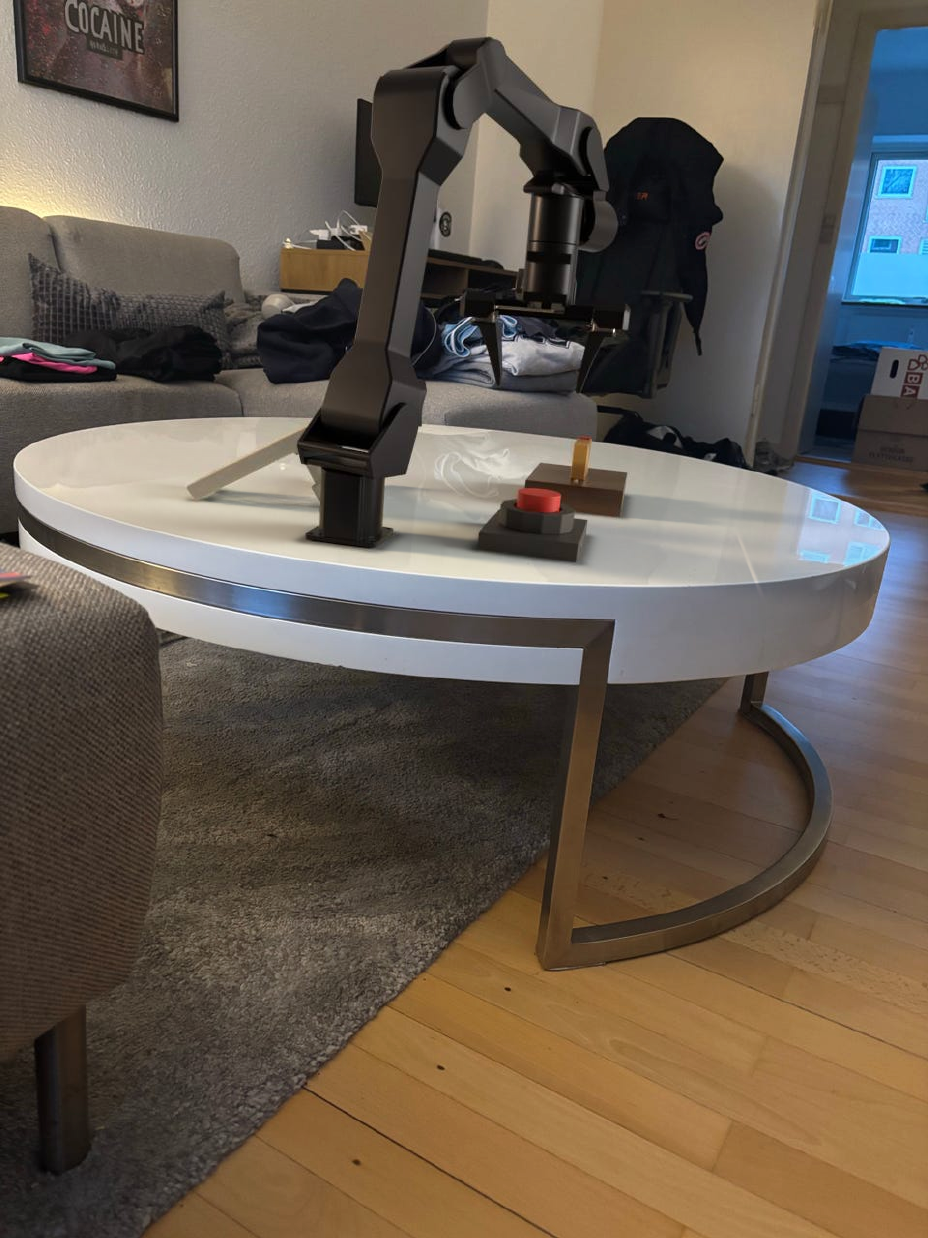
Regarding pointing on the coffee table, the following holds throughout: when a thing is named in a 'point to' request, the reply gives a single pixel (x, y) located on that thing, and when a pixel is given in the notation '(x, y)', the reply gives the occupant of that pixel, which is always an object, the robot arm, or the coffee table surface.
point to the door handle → (253, 466)
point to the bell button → (538, 500)
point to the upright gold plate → (581, 458)
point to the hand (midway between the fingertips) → (538, 389)
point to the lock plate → (582, 488)
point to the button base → (534, 532)
